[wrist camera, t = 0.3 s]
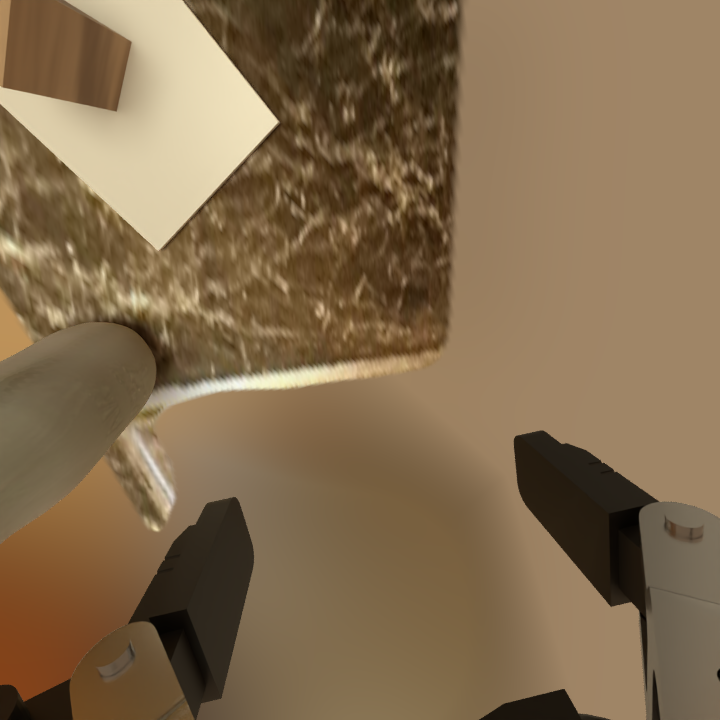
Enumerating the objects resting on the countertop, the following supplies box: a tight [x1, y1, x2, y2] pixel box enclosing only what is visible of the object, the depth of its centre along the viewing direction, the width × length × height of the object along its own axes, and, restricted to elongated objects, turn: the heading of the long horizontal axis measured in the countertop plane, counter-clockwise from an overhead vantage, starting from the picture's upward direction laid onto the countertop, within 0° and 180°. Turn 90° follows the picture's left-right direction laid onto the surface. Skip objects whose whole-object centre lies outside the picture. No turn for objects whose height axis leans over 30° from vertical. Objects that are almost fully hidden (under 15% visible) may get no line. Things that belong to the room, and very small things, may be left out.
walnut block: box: [0, 0, 132, 112], centre depth 24 cm, size 5×5×11 cm
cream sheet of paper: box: [0, 0, 280, 251], centre depth 29 cm, size 24×16×1 cm, turn 40°
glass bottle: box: [0, 322, 156, 544], centre depth 28 cm, size 10×10×28 cm
